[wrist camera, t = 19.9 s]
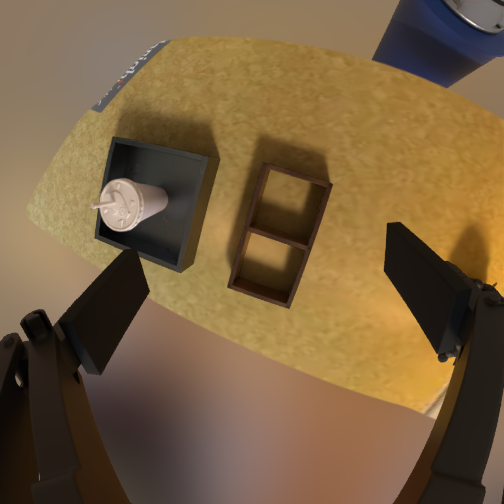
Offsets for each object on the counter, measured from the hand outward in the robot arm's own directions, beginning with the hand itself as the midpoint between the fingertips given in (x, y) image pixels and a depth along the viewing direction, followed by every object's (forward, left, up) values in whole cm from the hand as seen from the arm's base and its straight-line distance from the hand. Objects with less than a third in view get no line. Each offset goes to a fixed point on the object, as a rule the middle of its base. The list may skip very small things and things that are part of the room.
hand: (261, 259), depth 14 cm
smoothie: (+19, +4, -24) cm, 31 cm away
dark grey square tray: (+19, +4, -24) cm, 31 cm away
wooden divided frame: (0, +3, -24) cm, 25 cm away
